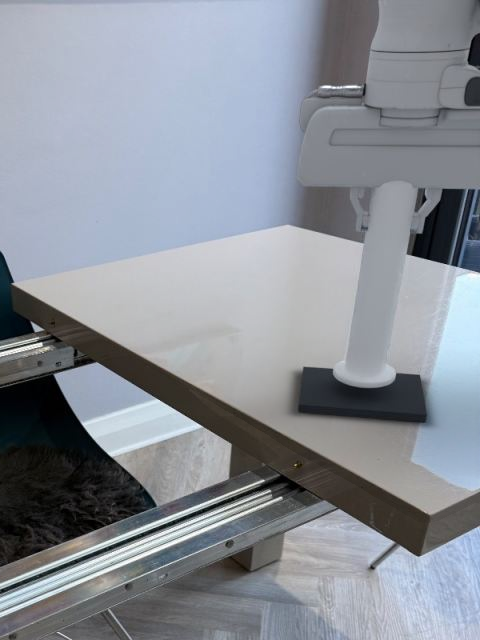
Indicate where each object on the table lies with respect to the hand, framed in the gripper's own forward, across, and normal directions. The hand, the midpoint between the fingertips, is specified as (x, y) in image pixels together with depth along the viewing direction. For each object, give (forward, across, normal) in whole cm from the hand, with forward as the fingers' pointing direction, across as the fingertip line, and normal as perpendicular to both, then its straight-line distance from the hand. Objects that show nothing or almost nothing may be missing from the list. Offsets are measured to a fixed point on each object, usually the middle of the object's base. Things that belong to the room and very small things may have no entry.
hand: (388, 231), depth 83 cm
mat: (+19, 0, 0) cm, 19 cm away
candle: (+17, 0, 0) cm, 17 cm away
